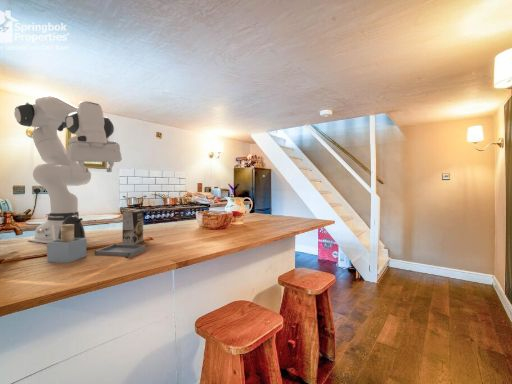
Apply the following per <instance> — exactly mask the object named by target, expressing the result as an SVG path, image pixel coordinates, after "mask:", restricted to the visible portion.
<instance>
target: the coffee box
mask: <svg viewBox="0 0 512 384" xmlns="http://www.w3.org/2000/svg"><path fill="white" fill-rule="evenodd" d="M121 235H122V238H121V239H122V241H121V242H122V243H121V244H127V245H138V244H139V243H142V242H143V241H144V210H127V211H123V212H122V234H121Z"/></svg>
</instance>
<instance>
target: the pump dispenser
mask: <svg viewBox="0 0 512 384" xmlns="http://www.w3.org/2000/svg"><path fill="white" fill-rule="evenodd" d="M82 221H83V218H82V217H80V218H78V217H76V216H69V217H67V218H66V219H65V220H64V221H63V223H62V225H65V224H74V238H86V239H87V237H86V232H85V227H84V225H83V223H82ZM58 239H61V227H60V230H59V234H58ZM58 239H57V240H58Z"/></svg>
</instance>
